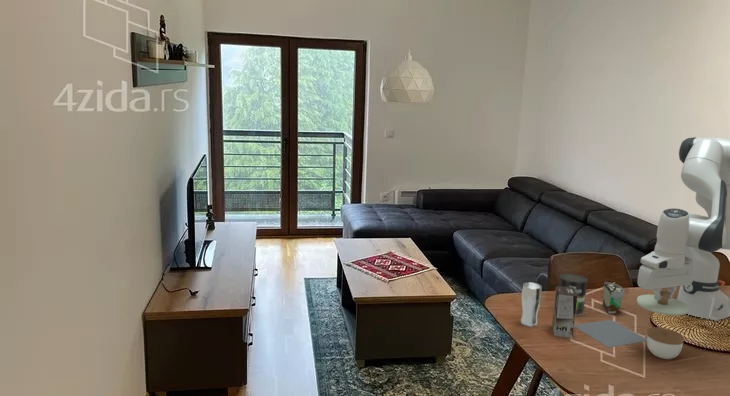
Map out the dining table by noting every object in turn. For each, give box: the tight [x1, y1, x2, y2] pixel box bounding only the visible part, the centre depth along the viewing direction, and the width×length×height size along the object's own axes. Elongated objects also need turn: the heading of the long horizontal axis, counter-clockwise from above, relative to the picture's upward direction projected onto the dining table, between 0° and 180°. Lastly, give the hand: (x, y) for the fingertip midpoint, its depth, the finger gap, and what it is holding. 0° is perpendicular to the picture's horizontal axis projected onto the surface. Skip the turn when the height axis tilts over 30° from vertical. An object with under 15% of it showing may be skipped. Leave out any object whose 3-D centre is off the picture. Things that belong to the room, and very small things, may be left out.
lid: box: [636, 289, 689, 316], centre depth 174 cm, size 15×15×5 cm
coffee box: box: [551, 285, 578, 339], centre depth 190 cm, size 9×6×16 cm
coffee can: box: [558, 273, 589, 316], centre depth 209 cm, size 10×10×14 cm
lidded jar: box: [646, 326, 685, 360], centre depth 175 cm, size 11×11×9 cm
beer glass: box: [520, 282, 543, 328], centre depth 197 cm, size 7×7×15 cm
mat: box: [574, 319, 647, 349], centre depth 191 cm, size 18×18×1 cm
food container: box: [602, 281, 625, 315], centre depth 210 cm, size 12×6×10 cm, turn 168°
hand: (663, 299), depth 174 cm, fingers closed on lid, 3 cm apart
